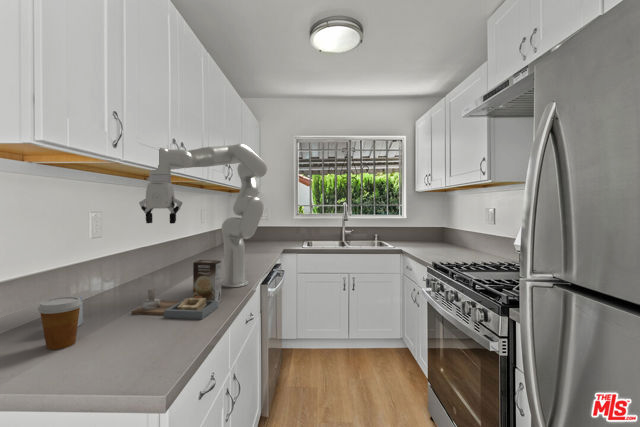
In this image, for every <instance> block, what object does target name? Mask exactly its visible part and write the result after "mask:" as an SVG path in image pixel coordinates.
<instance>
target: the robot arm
mask: <svg viewBox="0 0 640 427" xmlns="http://www.w3.org/2000/svg"><path fill="white" fill-rule="evenodd" d="M159 148H160V149H159V165H158V169H156V170H150V169H149V177H148V176H147V181H149V182H148V183H147V185H146V190H145V199H144V198H143V199H142V200H141V201H139V206H140V208H141V210H142V211H143V213H145V221H146V223H145V224H152V223H153V210H154V209H168V211H169V224H170V225H171V224H176V221H177V213H178V212H179V211H180V210H181V207H182V205H183V202H182V201H180V200H178V199H177V198H176V197H175V190H174V185H173V183H172V180H171V179H172V178H171V176H172V170H181V169H188V168H189V169H190V168H207V167H215V166H225V165H226V166H227V165H235V164H238V165H237V168H236V171H237V174H238V177H239V178H240V182H241V186H240V189H239V192H238V194H237V197H236V199H235V202H234V204H233V207H232V211H233V213H234V215H236V217H228V218H226V219H225V220H224V221H223V223H222V225H221V233H222V240H223V281H222V280H221V287H223V288H239V287H240V288H241V287H245V286H248V285H249V281H248V280H246V273H245V272H246V271H245V270H246V268H245V264H246V262H245V261H246V258H245V257H246V256H245V255H246V254H245V253H246V250H245V249H246V248H245V246H246V245H245V241H244V240H248V239H251V238H253V236H254V234H255V233H256V231H257V229H258V227H259V225H260V224H259V223H260V222H261V219H262V217H263V213H264V204H263V203H264V202H263V201H262V200H261V199H260V198H259V197H258V194H259V191H260V190H259V189H260V188H259V184H258V181H257V178H258V179H259V178H262V177H265V175H266V174H267V172H268V167H267V166H268V165H267V164H266V162H265V161H264V159H262V158H261V157H260V156H259V155H258V154H257V153H255V152H254V151H253V149H251V148H250V147H249V146H248V145H246V144H243V143H237V144H232V145H231V144H230V145H221V146H220V145H218V146H205V147H200V148H195V149H189V150H185V149H168V148H164V147H159Z"/></svg>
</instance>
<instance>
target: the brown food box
mask: <svg viewBox="0 0 640 427" xmlns="http://www.w3.org/2000/svg"><path fill="white" fill-rule="evenodd" d="M192 266H193V267H192V268H193V270H192V273H193V274H192V275H193V278H192V283H193V284H192V286H193V287H192V298H194V297H195V296H202V298H206V300H208V301H218V304H219V303H220V302H221V301H222V286H221V282H222V260H214V259H213V260H212V259H199V260H196V261H194V262H193V265H192Z"/></svg>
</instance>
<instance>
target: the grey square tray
mask: <svg viewBox="0 0 640 427" xmlns="http://www.w3.org/2000/svg"><path fill="white" fill-rule="evenodd" d="M184 300H185V299H183V300H180V301H181V302H179V303H177V304H175V305H173V306H172V307H170V308H168V309H166V310H164V314H165V315H164V319H183V320H184V319H187V320H190V319H191V320H204V319H205V318H206V317H208V316H210V314H211V313H213V312H214V311H216V310H217V309H218V308H219V303H218V301H208V300H206V306H205V307H204V308H203V309H202V310H178V306H179V305H180V304H181V303H182V302H183V301H184Z"/></svg>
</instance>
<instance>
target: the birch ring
mask: <svg viewBox="0 0 640 427" xmlns="http://www.w3.org/2000/svg"><path fill="white" fill-rule="evenodd" d="M183 300H184V301H183V302H182V303H181V304H180V305H179V306H178V310H202V309H203V308H204V307H205V306H206V298H202V296H195V297H194V298H193V297H185V299H183Z"/></svg>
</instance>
